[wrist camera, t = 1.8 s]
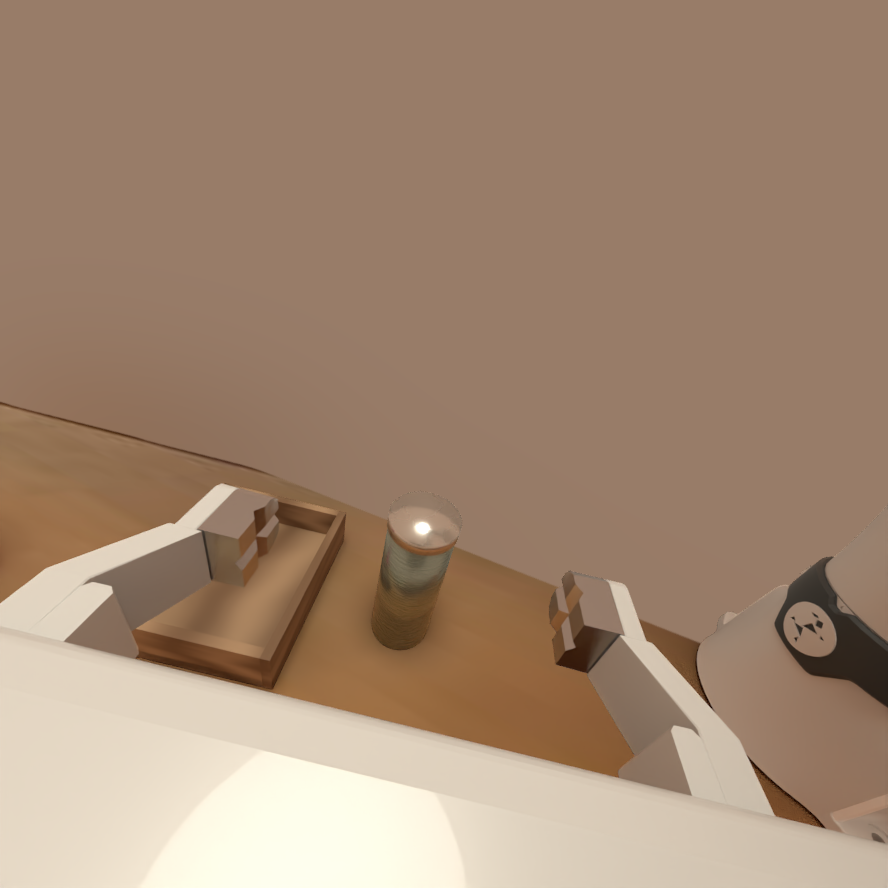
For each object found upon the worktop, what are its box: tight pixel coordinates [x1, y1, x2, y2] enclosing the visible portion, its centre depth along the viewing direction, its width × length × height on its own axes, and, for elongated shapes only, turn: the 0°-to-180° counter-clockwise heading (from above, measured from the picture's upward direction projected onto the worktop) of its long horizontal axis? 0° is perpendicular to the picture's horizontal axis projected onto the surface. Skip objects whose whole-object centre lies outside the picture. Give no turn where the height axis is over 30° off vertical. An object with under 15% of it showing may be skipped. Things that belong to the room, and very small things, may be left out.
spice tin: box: [372, 492, 462, 650], centre depth 29 cm, size 5×5×13 cm
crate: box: [131, 483, 346, 689], centre depth 32 cm, size 12×15×4 cm
